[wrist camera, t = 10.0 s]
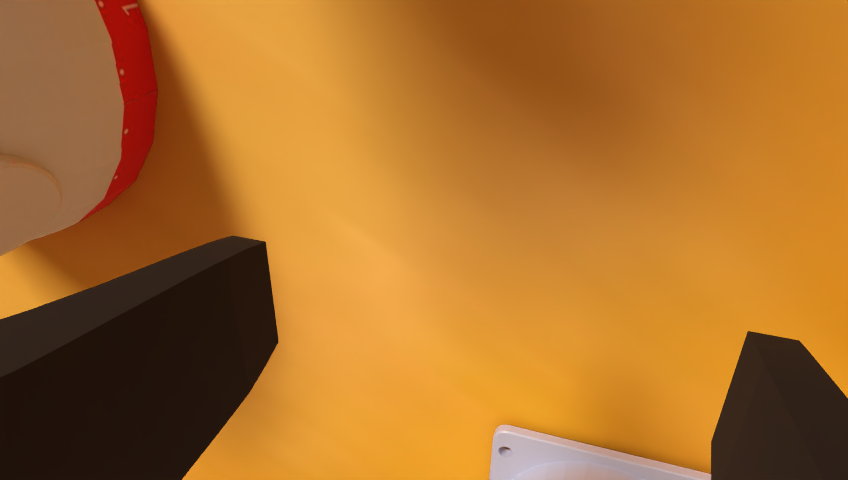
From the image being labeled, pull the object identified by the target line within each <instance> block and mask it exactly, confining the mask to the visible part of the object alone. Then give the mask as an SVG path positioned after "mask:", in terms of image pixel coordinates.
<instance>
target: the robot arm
mask: <svg viewBox="0 0 848 480" xmlns="http://www.w3.org/2000/svg"><path fill="white" fill-rule="evenodd" d="M277 344H278V334H277V326H276V319H275V311H274V303H273V295H272V288H271V280H270V272H269V264H268V257H267V249H266V242H264V241H259V240H253V239H248V238H243V237H237V236H230V237H226V238H223V239H219V240H216V241H213V242H210V243H207V244H204V245H201V246H199V247H196V248H193V249H191V250H188V251H185V252H183V253H180V254H177V255H175V256H172V257H170V258H167V259H165V260H162V261H159V262H157V263H154V264H152V265H149V266H147V267H144V268H142V269H139V270H136V271H134V272H131V273H129V274H126V275H124V276H121V277H119V278H116V279H113V280H111V281H108V282H106V283H103V284H101V285H98V286H95V287H92V288H89V289H87V290H84V291H81V292H78V293H76V294H73V295H70V296H67V297H64V298H62V299H59V300H56V301H53V302H50V303H48V304H45V305H42V306H39V307H37V308H34V309H31V310H28V311H25V312H22V313H19V314H16V315H13V316H10V317H7V318H3V319H0V480H182V479H183V477H184V476H185V475H186V473H187V472H188V471H189V470H190V468H191V467H192V466H193V465H194V463H195V462H196V461H197V459H198V458H199V457H200V456H201V454H202V453H203V452H204V451H205V449H206V448H207V447H208V446H209V444H210V443H211V442H212V440H213V439H214V438H215V437H216V435H217V434H218V433H219V432H220V430H221V429H222V428H223V426H224V425H225V424H226V423H227V421H228V420H229V419H230V417H231V416H232V415H233V413H234V412H235V411H236V410H237V408H238V407H239V406H240V404H241V403H242V402H243V400H244V399H245V398H246V396H247V395H248V394H249V392H250V391H251V389H252V387H253V386H254V384H255V382H256V381H257V379H258V377H259V376H260V374H261V372H262V371H263V369H264V367H265V365H266V364H267V362H268V360H269V358H270V356H271V355H272V353H273V351H274V349H275V347H276V346H277ZM504 447H507V448H510V449H506V448H504ZM489 480H848V398H847V397H846V396H845V395H844V393H843V392H842V391H841V390H840V389H839V387H838V386H837V385H836V384H835V382H834V381H833V380H832V379H831V378H830V376H829V375H828V374H827V373H826V372H825V370H824V369H823V368H822V367H821V366H820V364H819V363H818V362H817V361H816V360H815V358H814V357H813V356H812V355H811V354H810V352H809V351H808V350H807V349H806V348H805V347H804V346H803V344H802V343H801V342H800V341H799V340H793V339H788V338H783V337H777V336H772V335H766V334H761V333H756V332H750V331H748V333H747V336H746V339H745V342H744V345H743V348H742V351H741V354H740V357H739V360H738V363H737V366H736V369H735V372H734V375H733V378H732V381H731V384H730V387H729V390H728V393H727V396H726V399H725V402H724V405H723V408H722V411H721V414H720V417H719V420H718V423H717V426H716V429H715V432H714V435H713V438H712V441H711V474H709V473H704V472H700V471H696V470H692V469H688V468H684V467H680V466H676V465H672V464H667V463H663V462H659V461H655V460H651V459H647V458H643V457H639V456H635V455H630V454H626V453H622V452H618V451H614V450H610V449H606V448H602V447H597V446H593V445H589V444H585V443H581V442H577V441H573V440H569V439H565V438H560V437H556V436H552V435H548V434H544V433H540V432H536V431H532V430H527V429H523V428H519V427H515V426H511V425H501V426H499V427H497V428H496V431H495V433H494V437H493V445H492V456H491V467H490V478H489Z"/></svg>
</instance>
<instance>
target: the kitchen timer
mask: <svg viewBox="0 0 848 480" xmlns="http://www.w3.org/2000/svg"><path fill="white" fill-rule="evenodd" d="M157 93H158V89H157V83H156V77H155V71H154V65H153V59H152V53H151V47H150V41H149V35H148V29H147V26H146V24H145V21H144V19H143V16H142V14H141V11H140V9H139V6H138V4H137V1H136V0H0V256H1V255H3V254H5V253H7V252H10V251H12V250H14V249H16V248H18V247H19V246H21V245H23V244H25V243H26V242H28V241H31V240H34V239H38V238H41V237H44V236H47V235H49V234H52V233H55V232H58V231H61V230H63V229H65V228H68V227H70V226H72V225H74V224H77V223H78V222H80V221H82V220H83V219H85V218H87V217H88V216H90V215H92V214H94V213H95V212H97V211H99V210H100V209H102V208H104V207H105V206H107V205H109V204H110V203H111V202H112V201H113V200H114V199H115V198H117V197H118V196H119V195H120V194H121V193H122V192H123V191H124V190H125V189H127V188H128V187H129V186H130V185H131V184H132V183H133V182H134V181H136V179H137V176H138V174H139V172H140V170H141V168H142V165H143V163H144V161H145V159H146V156H147V154H148V152H149V150H150V148H151V145H152V143H153V137H154V126H155V115H156V104H157Z"/></svg>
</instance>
